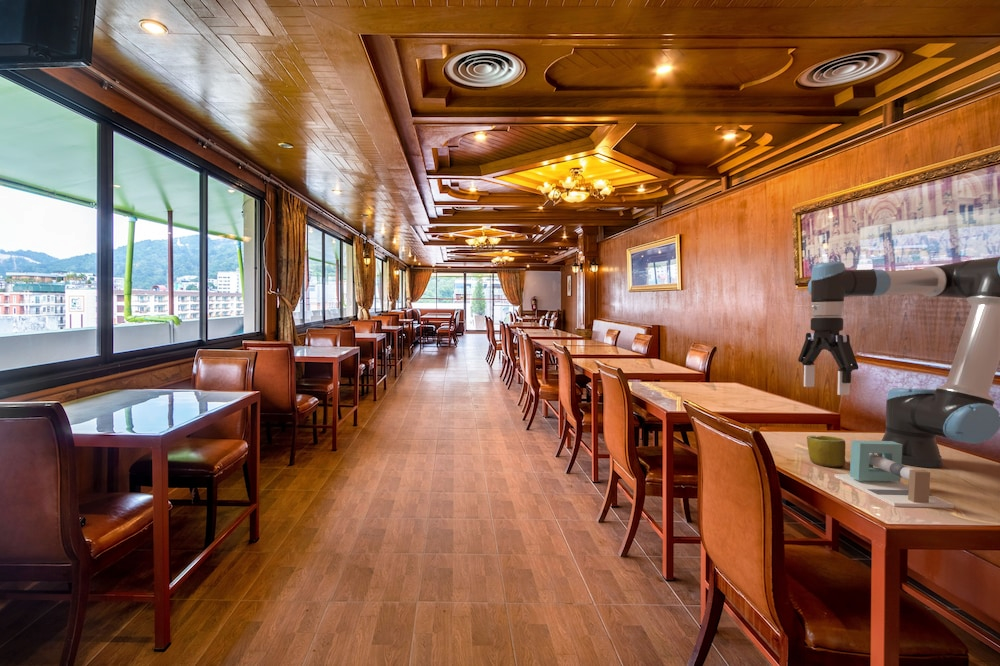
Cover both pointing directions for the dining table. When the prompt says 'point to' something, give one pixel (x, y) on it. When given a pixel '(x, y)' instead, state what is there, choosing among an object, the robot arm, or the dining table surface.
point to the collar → (861, 459)
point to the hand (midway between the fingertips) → (825, 390)
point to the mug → (826, 450)
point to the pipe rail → (898, 485)
